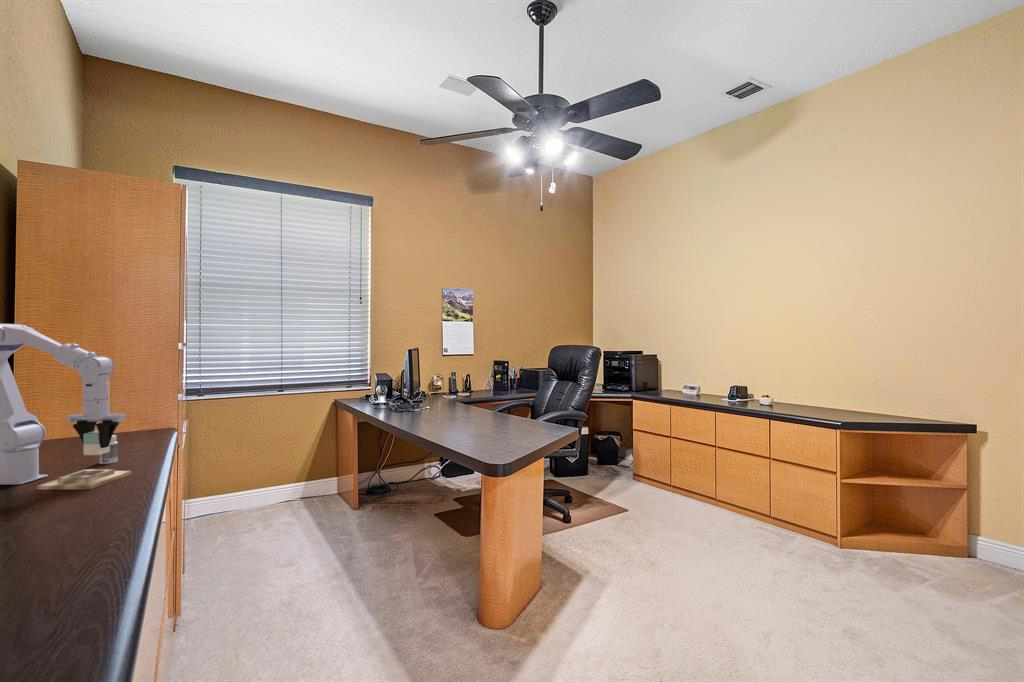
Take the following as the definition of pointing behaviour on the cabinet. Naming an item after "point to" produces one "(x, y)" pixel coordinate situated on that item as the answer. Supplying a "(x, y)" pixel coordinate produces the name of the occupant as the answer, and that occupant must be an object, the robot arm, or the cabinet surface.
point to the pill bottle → (110, 453)
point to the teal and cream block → (93, 444)
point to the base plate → (85, 479)
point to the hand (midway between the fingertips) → (96, 447)
